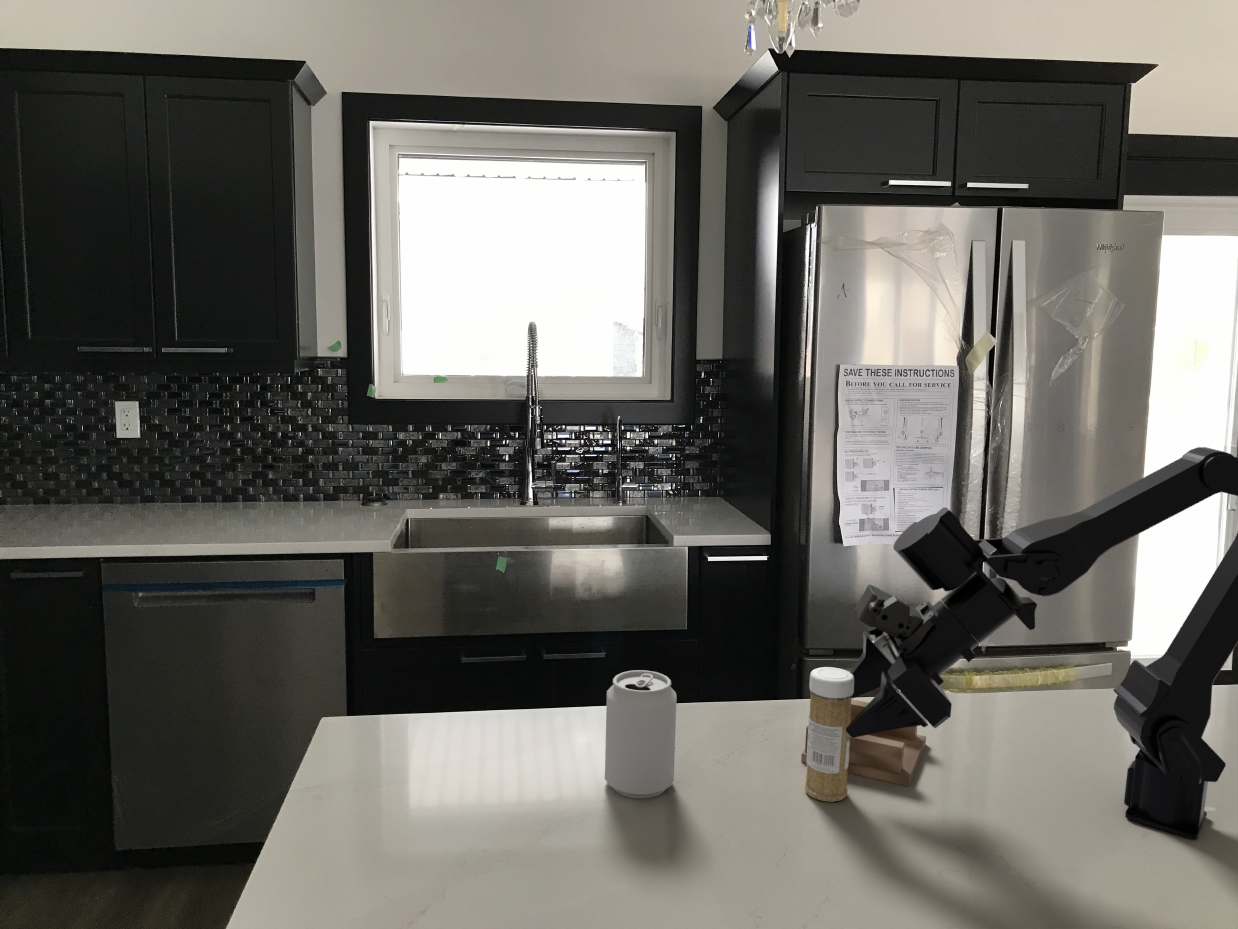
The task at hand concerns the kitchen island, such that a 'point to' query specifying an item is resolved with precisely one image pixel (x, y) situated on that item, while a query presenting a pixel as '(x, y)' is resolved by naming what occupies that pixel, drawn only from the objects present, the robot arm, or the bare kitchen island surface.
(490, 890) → the kitchen island surface
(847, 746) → the sprinkles bottle
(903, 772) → the walnut cradle
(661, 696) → the can
